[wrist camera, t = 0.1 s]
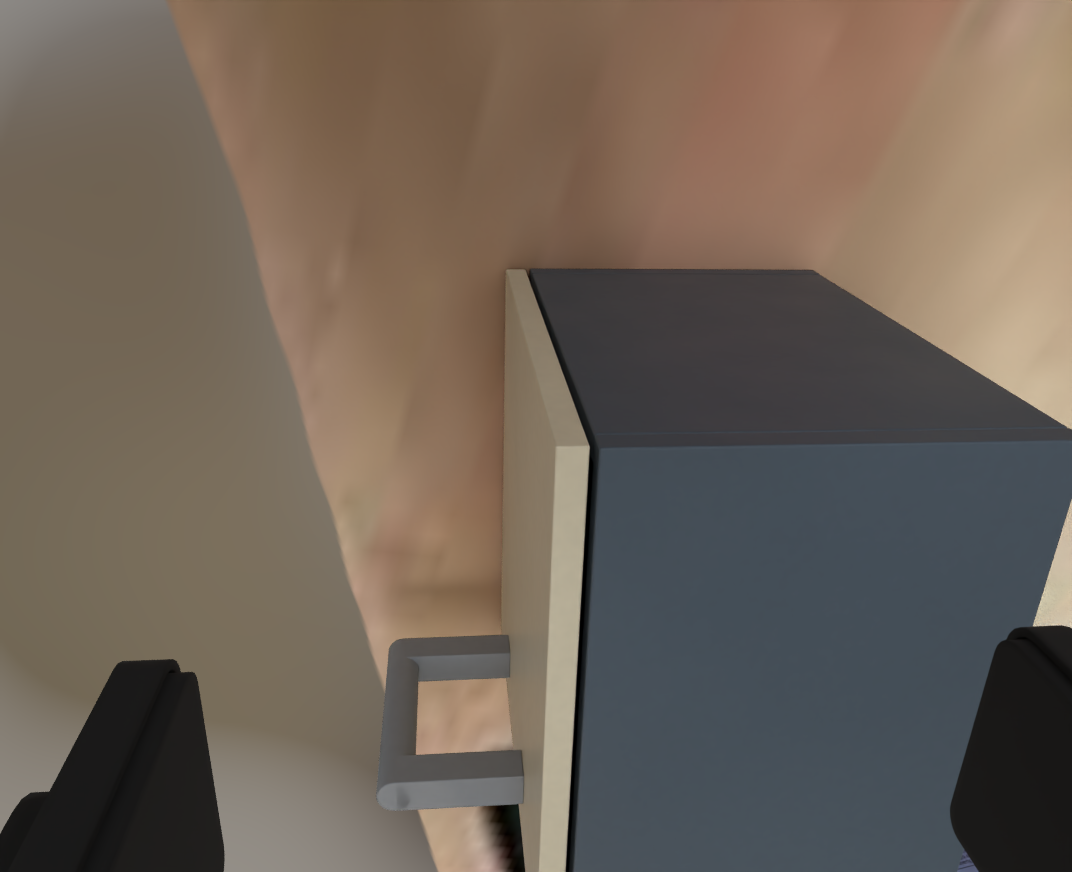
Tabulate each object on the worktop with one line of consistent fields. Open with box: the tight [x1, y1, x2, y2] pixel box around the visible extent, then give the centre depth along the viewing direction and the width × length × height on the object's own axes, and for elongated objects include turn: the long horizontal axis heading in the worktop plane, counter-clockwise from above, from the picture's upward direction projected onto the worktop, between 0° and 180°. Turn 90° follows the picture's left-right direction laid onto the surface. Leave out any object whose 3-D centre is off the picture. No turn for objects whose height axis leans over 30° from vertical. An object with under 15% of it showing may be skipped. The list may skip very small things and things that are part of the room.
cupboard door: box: [376, 269, 590, 872], centre depth 39 cm, size 7×22×22 cm, turn 179°
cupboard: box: [530, 269, 1072, 872], centre depth 40 cm, size 15×22×22 cm
